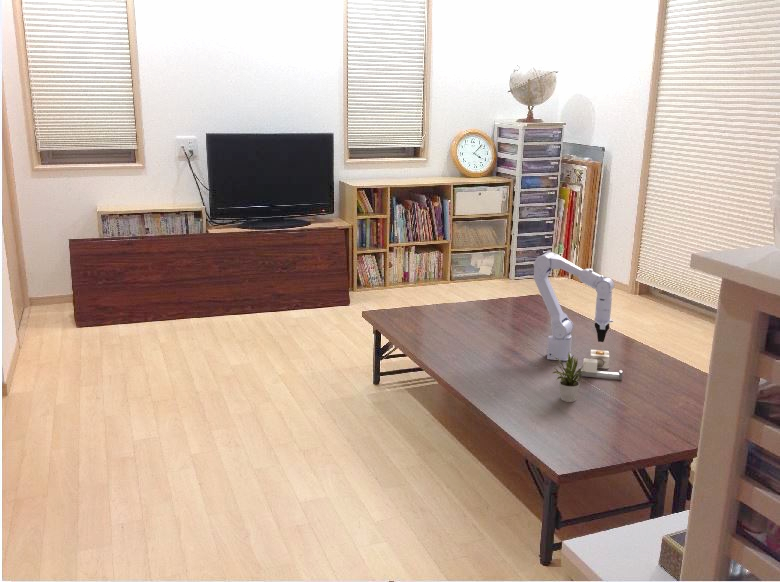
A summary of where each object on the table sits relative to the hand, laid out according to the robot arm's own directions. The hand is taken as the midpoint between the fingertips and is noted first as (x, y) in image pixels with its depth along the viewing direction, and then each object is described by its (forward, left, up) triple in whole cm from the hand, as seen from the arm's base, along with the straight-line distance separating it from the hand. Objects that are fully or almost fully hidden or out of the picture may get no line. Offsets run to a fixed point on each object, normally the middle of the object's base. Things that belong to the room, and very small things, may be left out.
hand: (600, 341), depth 281 cm
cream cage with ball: (0, 0, -10) cm, 10 cm away
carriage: (-4, -13, -10) cm, 17 cm away
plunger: (0, 0, -6) cm, 6 cm away
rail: (0, -13, -10) cm, 17 cm away
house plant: (-12, -36, -10) cm, 39 cm away
